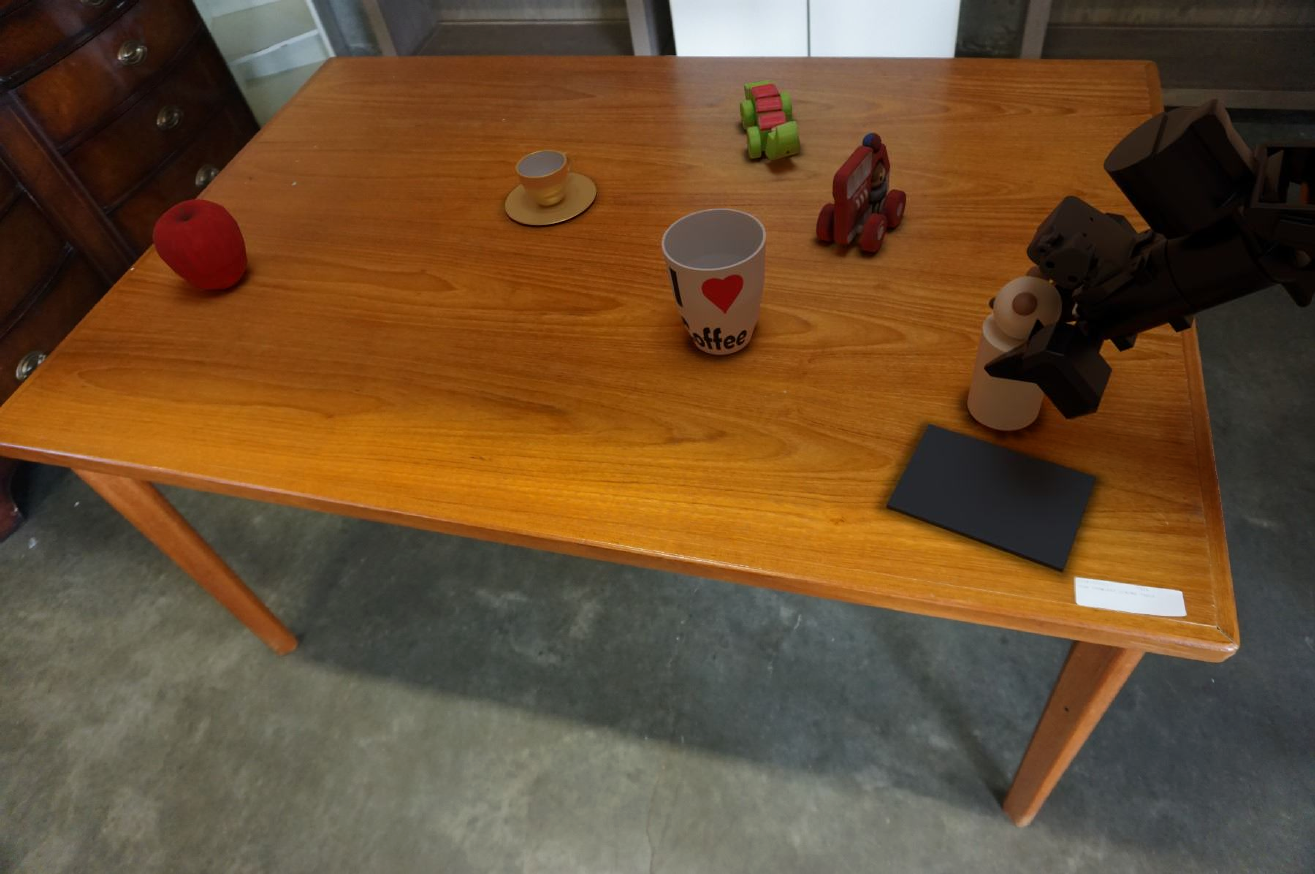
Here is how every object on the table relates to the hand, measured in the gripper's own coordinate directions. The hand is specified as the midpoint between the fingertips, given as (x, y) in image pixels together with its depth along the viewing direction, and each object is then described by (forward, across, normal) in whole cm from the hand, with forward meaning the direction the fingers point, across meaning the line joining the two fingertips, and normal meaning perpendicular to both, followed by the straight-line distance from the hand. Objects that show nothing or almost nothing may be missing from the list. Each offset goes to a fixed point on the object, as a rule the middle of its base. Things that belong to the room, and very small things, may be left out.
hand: (999, 346), depth 70 cm
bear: (+4, 0, +6) cm, 7 cm away
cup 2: (+24, +1, -14) cm, 28 cm away
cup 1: (+47, -13, -37) cm, 61 cm away
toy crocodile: (+33, -36, -23) cm, 54 cm away
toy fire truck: (+20, -21, -10) cm, 30 cm away
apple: (+68, +17, -58) cm, 92 cm away
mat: (+3, +10, +8) cm, 12 cm away
